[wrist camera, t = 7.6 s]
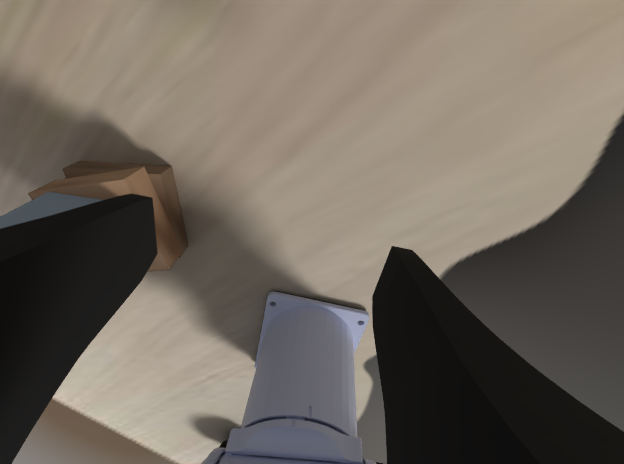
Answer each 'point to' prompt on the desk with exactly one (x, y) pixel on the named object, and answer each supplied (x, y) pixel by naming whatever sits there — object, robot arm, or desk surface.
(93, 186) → the tower mid
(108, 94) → the desk surface
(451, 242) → the desk surface
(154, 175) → the tower base
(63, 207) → the cube
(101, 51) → the desk surface
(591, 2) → the desk surface
